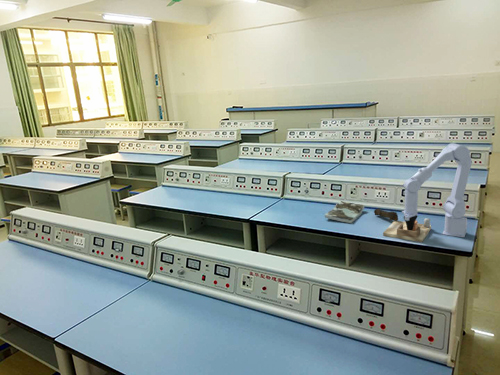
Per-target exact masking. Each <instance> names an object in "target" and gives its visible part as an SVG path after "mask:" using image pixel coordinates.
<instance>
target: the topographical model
mask: <svg viewBox="0 0 500 375" xmlns="http://www.w3.org/2000/svg"><path fill="white" fill-rule="evenodd" d="M365 207H366V206H365V205H364V204H359V203H353V202H347V201H342V200H339V201H338V202H336V204H335V206H333V207H332V209H331V210H329V211H327V213H324V218H325V219H328V220H334V221H338V222H343V223H348V224H352V223H353V222H354V221H356V220H357V219H358V218H359V217H360V216H361V215H362V213H363V211H364V210H365Z"/></svg>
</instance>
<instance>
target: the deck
mask: <svg viewBox="0 0 500 375" xmlns="http://www.w3.org/2000/svg"><path fill="white" fill-rule="evenodd" d="M431 230H432V225H431V224H430V227H429V228H426V227H424V223H418V222H417V229H416V230H415V231H413V230H412V231H411V230H407V225H406V222H405V221H404V220H403V221H402V220H398V221H394V220H393V221H392V223H391V224H390V225H388V227H387V228H386V229H385V230H384V231H383V234H382V236H384V237H388V238H395V239H399V240H405V241H406V240H408V241H413V242H419V243H423V241H424V240H425V239H426V237H427V236H428V235H429V232H430V231H431Z"/></svg>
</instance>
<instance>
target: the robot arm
mask: <svg viewBox="0 0 500 375" xmlns="http://www.w3.org/2000/svg"><path fill="white" fill-rule="evenodd" d="M470 153H471V150H470V149H469V148H468V147H467V146H465V145H460V144H458V143H455V142H451V143H449V144H447V145H446V147H443V149H441V152H440V153H439V154H437V155H436V156H435V158H434V159H433V160H432V161H431V162H430V163H429V164H428V165H427V166H426V167H421V168H419V169H417V172H416V173H415V174H414V175H413V176H412V175H411V176H410V178H408V179H406V180H405V181H404V183H403V185H402V186H403V189H405V190H404V210H402V211H401V213H402V214H404V216H403V219H404V220H403V221H404V222H406V225H407V229H408V230H411V231H412V230H413V227H414V223H415V221H417V218H418V202H419V200H418V199H419V198H418V197H419V191H420V190H421V187H422V186H423V184H424V183H425V182H427V181H428V180H429V179H430V178H431V177H432V176H433V175H432V174H433V172H434V171H435V170H437V169H438V168H439V167H440V166H441V165H443V164H444V163H446V162H447V161H455V162H456V164H457V168H456V172H455V175H454V180H453V183H452V188H451V192H450V195H449V196H448V197H447V198H446V201H445V202H444V203H443V206H442V207H443V211H444V212H445V215H444V230H443V231H442V234H441V235H445V236H451V237H458V238H465V236H466V234H467V229H468V228H467V227H468V225H467V224H468V217H465V214H466V208H465V207H466V202H465V200H464V196H465V191H466V188H467V184H468V179H469V176H470V172H471V171H470V170H471V167H472V164H473V162H472V161H473V160H472V157H471V154H470Z"/></svg>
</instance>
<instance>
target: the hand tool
mask: <svg viewBox="0 0 500 375" xmlns="http://www.w3.org/2000/svg"><path fill="white" fill-rule="evenodd" d="M373 213H374V215H375V216H380V217H383V218H387V219H389V220H390V221H393V222H394V221H399V216H398V213H397V212H396V211H387V210H383V209H380V208H375V209H374V210H373Z"/></svg>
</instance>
